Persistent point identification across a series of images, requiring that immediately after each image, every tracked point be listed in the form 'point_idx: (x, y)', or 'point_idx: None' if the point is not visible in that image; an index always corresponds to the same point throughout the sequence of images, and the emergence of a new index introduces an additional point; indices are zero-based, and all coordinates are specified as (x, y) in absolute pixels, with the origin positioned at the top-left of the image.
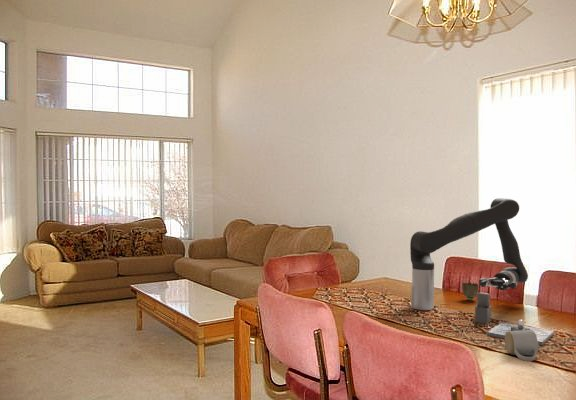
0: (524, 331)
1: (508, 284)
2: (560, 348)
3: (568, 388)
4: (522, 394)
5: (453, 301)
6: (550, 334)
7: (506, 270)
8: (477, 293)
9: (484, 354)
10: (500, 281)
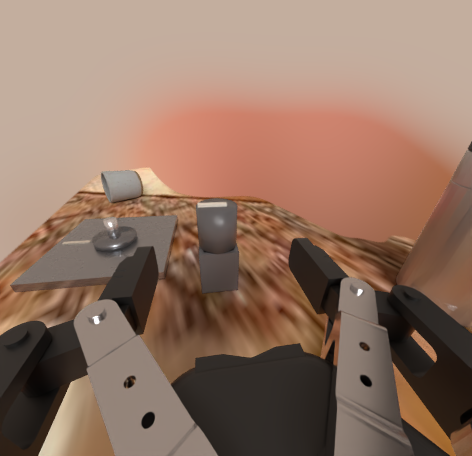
0: (115, 171)
1: (102, 293)
2: (56, 227)
3: (95, 178)
4: (130, 170)
5: None
6: (42, 257)
7: None
8: (232, 201)
9: (164, 188)
10: (206, 358)
